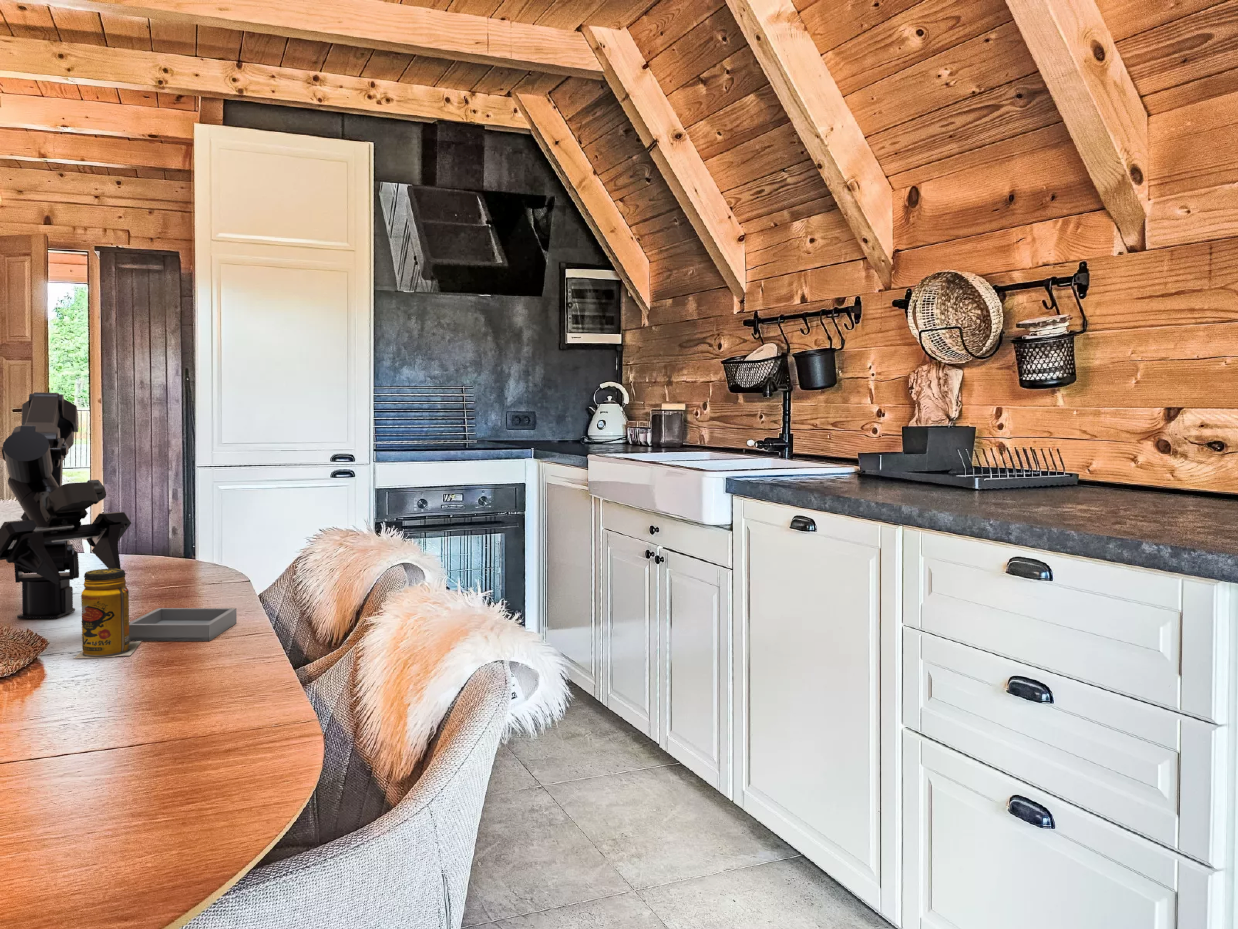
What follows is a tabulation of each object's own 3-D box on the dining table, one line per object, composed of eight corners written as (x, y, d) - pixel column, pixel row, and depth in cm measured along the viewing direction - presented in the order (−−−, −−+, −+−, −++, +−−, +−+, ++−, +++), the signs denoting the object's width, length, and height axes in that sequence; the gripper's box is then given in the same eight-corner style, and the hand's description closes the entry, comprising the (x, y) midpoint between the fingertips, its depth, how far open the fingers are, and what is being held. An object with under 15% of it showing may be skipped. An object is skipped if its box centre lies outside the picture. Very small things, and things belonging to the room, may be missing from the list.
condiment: (72, 660, 131) (71, 575, 130) (87, 645, 139) (86, 566, 139) (130, 657, 133) (129, 573, 133) (141, 643, 141) (141, 564, 141)
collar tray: (124, 641, 142) (123, 625, 142) (158, 622, 154) (158, 608, 154) (209, 641, 143) (209, 625, 143) (236, 623, 155) (236, 608, 155)
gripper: (0, 464, 130) (51, 549, 126) (122, 460, 147) (171, 534, 143) (-32, 517, 134) (16, 601, 130) (90, 507, 151) (137, 581, 147)
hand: (89, 577), depth 137 cm, fingers open, 9 cm apart
